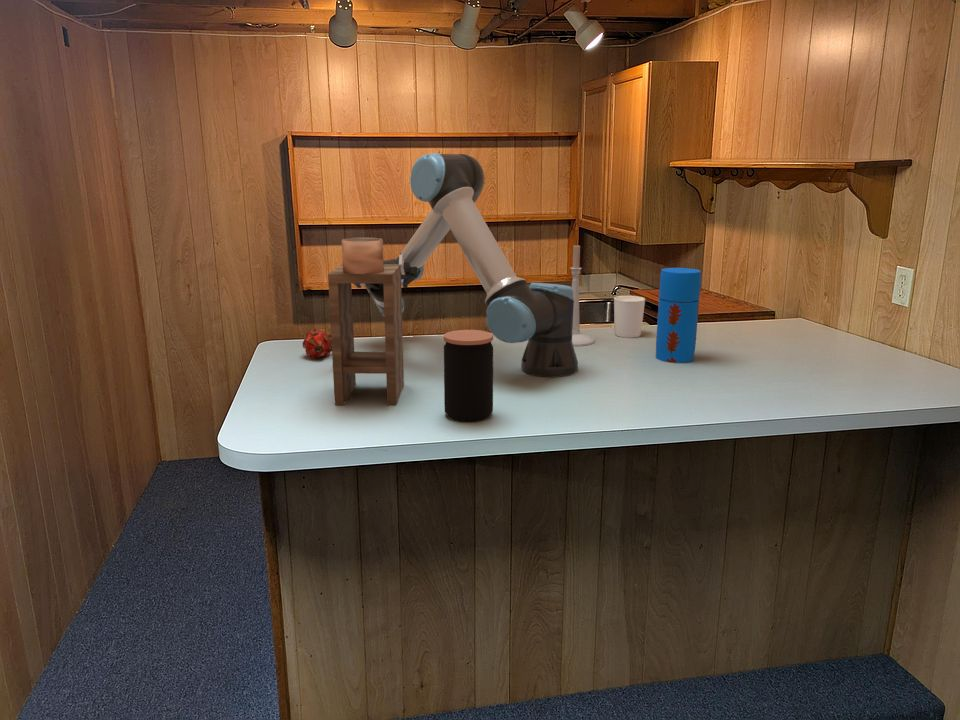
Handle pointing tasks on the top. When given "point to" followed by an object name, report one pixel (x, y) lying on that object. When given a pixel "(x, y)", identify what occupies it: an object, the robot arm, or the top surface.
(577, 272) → the candlestick
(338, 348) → the potting stand
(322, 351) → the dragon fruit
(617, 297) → the white cup
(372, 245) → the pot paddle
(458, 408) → the coffee jar
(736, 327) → the top surface
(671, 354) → the thermos
